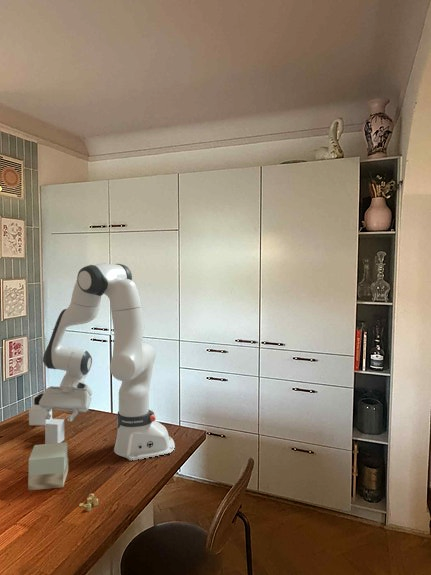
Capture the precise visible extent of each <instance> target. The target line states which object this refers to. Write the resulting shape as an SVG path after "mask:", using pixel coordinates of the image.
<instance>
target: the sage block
mask: <svg viewBox="0 0 431 575" xmlns="http://www.w3.org/2000/svg"><path fill="white" fill-rule="evenodd" d="M67 457H68V442H67V441H65V442H63V441H62V442H61V443H52V444H45V443H43V444H35V445H33V448H32V451H31V453H30V455H29V458H28V475H29V476H35V475H44V474H53V473H62V472H64V470H65V465H66V460H67Z"/></svg>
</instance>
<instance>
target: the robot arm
mask: <svg viewBox="0 0 431 575" xmlns="http://www.w3.org/2000/svg"><path fill="white" fill-rule="evenodd" d="M138 290H139V289H138V287H137V285H136V283H135V282H134V281H133V274H132V271H131V270H130V268H129V266H127V265H124V264H122V263H99V264H98V263H97V264H90V265H86V266H83V267H82V268H80V270H79V271H78V273H77V278H76V281H75V284H74V287H73V291H72V294H71V299H70V300H71V301H70V304H69V305H68V307H67V308H64V309H62V311H61V312H60V314H58V318H57V320H56V321H55V325H54V328H53V331H52V332H51V335H50V340H49V341H48V345H47V347H46V349H45V350H44V353H43V354H42V355H43V356H42V362H43V363H44V365H45V367H46V368H47V369H50V370H60V371H65V374H64V375H63V378H62V379H61V382H60V384H59V386H53V385H51V386H50V387H47V388H46V389H45V390H44V392H43V393H42V394H43V396H42V398H41V399H40V401H39V405H40V406H41V407H42V408H43V409H45V410H46V415H45V419H48V420H50V418H51V415H50V414H49V411H51V409H52V410H58V411H68V412H69V411H70V412H72V413H71V414H70V415H68V416H67V422H73V421H74V418H75V417H76V416H77V415H78V414H79V412H82V413H87V412H88V411H89V410H90V407H91V403H92V397H91V396H92V394H93V391H92V389H91V387H90V386H89V385H88V384H86V383H85V379H86V378H87V377H88V373H89V372H90V370H91V367H92V364H93V358H92V355H91V354H90V352H89V351H88V350H85V349H81V348H75V347H70V346H66V345H64V344H62V341H63V338H64V335H65V333H66V331H67V330H66V329H67V328H68V327H71V326H79V325H84V324H87V323H90V322H91V321H93V320H95V319H96V318H97V316H98V314H99V311H100V307H101V302H102V301H101V300H102V296H103V295H106V296H107V298H108V300H109V304H110V311H111V312H110V313H111V318H112V320H111V321H112V326H113V346H112V348H113V349H112V357H111V361H110V363H109V371H110V374H111V375H112V377H113V378H115V380H117V381H121V385H120V387H119V390H118V411H117V414H116V426H117V433H116V439H115V445H114V448H113V452H114V453H115V454H116V455H118V456H120V457H123V458H126V459H127V460H128V461H132V460H133V461H139V460H145V459H144V458H146V459H150V458H149V457H152V458H156V457H155V456H158V457H160V456H159V455H164V454H168V453H171V452H172V451H173V450H174V451H175V449H176V446H175V444H176V443H175V441H174V439H173V438H172V437H171V436H169V435H170V434H169V432H168V429H167V428H166V427H165V425H163V424H162V423H160V422H159V421H157V420H156V419H157V418H156V415H155V412H154V410H153V409H150V405H149V404H150V387H151V381H152V376H153V368H154V363H155V359H156V350H155V348H154V346H153V345H152V344H150V343H148V342H145V341H144V342H143V339H144V338H143V335H144V331H145V321H144V315H143V314H144V313H143V308H142V301H141V298H140V294H139V291H138ZM174 448H175V449H174ZM164 456H165V455H164ZM138 459H139V460H138Z"/></svg>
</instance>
